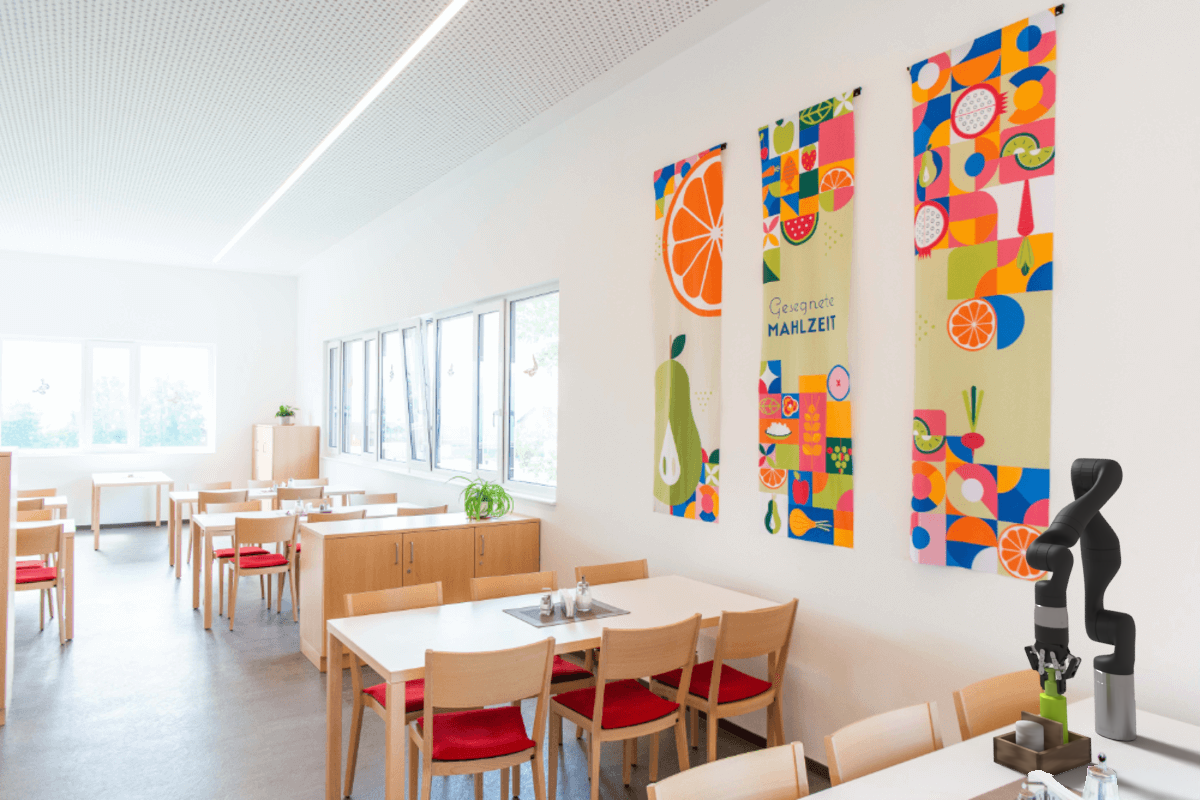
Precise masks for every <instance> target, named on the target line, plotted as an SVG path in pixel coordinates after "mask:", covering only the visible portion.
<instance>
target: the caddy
mask: <svg viewBox="0 0 1200 800" xmlns="http://www.w3.org/2000/svg"><path fill="white" fill-rule="evenodd" d="M1020 716H1021V717H1020V719H1021V720H1016V722H1015V730H1013V731H1010V732H1006V733H1002V734H999V735H996V736H993V737H992V743H993V744H992V751H993V752H992V753H993V754H992V755H993V762H994V763H995V764H998V765H1000V766H1003V767H1006V768H1007V769H1010V770H1013V771H1016V772H1019V773H1021V774H1023V775H1025V774H1026V775H1025V776H1028V775H1027V774H1028V773H1029V772H1031V771H1035V770H1042V771H1044V772H1046V773H1050V774H1052V775H1054V776H1053V777H1056V776H1058V774H1059V775H1061V774H1064V773H1067V772H1069V770H1070V771H1072V770H1074V768H1075V769H1077V767H1078V768H1080V766H1081V767H1083V766H1086V765H1088V763H1089V764H1091V763H1090V762H1093V761H1092V760H1093V757H1092V755H1093V754H1092V738H1091V737H1090V736H1087V735H1083V734H1080V733H1077V732H1075V731H1071V730H1069V729H1068V743H1066V744H1063V723H1060V722H1057V721H1054V720H1051V719H1048V718H1045V717H1042V716H1040V715H1038V714H1036V713H1035V714H1034V713H1032V712H1029V711H1026V710H1021V711H1020ZM1071 769H1072V770H1071ZM1066 771H1067V772H1066ZM1063 772H1064V773H1063ZM1060 773H1061V774H1060ZM1055 775H1056V776H1055Z"/></svg>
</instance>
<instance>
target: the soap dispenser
mask: <svg viewBox="0 0 1200 800" xmlns="http://www.w3.org/2000/svg"><path fill="white" fill-rule="evenodd" d="M1044 670H1045V671H1047V672H1048V679H1047V680H1045V690H1044V692H1040V693H1039V712H1040V713H1039V716H1042V717H1045V718H1048V719H1051V720H1054V721H1057V722H1060V723H1063V744H1066V743H1068V730H1069V729H1068V728H1069V727H1068V726H1069V724H1068V723H1069V722H1068V707H1067V706H1068V703H1067V702H1068V701H1067V699H1068V698H1067V697H1066V696H1065V695H1064V694H1062V695H1059V694H1058V693H1057V684H1056V679H1057V676H1056V671H1055V670H1054V667H1053V666H1051V667H1049V668H1044ZM1061 672H1063V670H1061Z"/></svg>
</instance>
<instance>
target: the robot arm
mask: <svg viewBox="0 0 1200 800" xmlns="http://www.w3.org/2000/svg"><path fill="white" fill-rule="evenodd" d="M1123 476H1124V473H1123V468H1122V466H1121V464H1120V463H1119V462H1118V460H1117V461H1116V460H1115V459H1110V458H1093V457H1092V458H1090V457H1080V458H1076V459H1074V460H1073V462H1072V464H1071V468H1070V482H1071V487H1072V492H1073V493H1072V494H1073V498H1074V500H1073V501H1072V502H1070V503H1068V504H1067V505H1066V506H1064V507H1062V508H1061V510H1059V511H1058V512H1057V514H1056V515H1055V517H1054V519H1053V520H1052V522H1051V523H1050V525H1049V527H1048V529H1046V530H1044V531H1043V532H1042V533H1041V534H1040V535H1038V536H1037V537H1036V538H1035V539H1034V540H1032V542H1030V544H1029V545H1028V547H1027V548H1026V550H1025V561H1026V563H1027V565H1028V566H1029V567H1030V568H1032V569H1033V570H1037V571H1042V572H1050V573H1052V575H1051V578H1050V579H1041V580H1038V581H1036V582H1035V584H1034V611H1033V619H1034V620H1033V621H1034V622H1033V623H1034V627H1033V628H1034V639H1035V642H1034V644H1033V645H1032V644H1031V645H1026V646H1024V649H1023V650H1024V652H1025V654H1026V655H1025V656H1027V657H1026V658H1027V660H1028V662H1029V665H1030V668H1031V669H1032V671H1036V672H1037V673H1038V674H1039V685H1040V687H1041V689H1042V690H1043V691H1045V680H1047V679H1048V672H1047V671H1045V670H1044V668H1049V667H1050V666H1051V665H1052V667H1054V670H1055V671H1056V684H1057V693H1058V694H1059V695H1065V693H1066V692H1067V680H1070V679H1074V678H1075V677H1076V675H1077V672H1078V671H1079V667H1080V665H1081V664H1082V663H1081V662H1082V658H1081V657H1079V656H1075V655H1074V654H1072V653H1071V651H1070V648H1069V643H1070V636H1069V635H1070V633H1069V632H1070V630H1069V613H1068V607H1067V605H1068V604H1067V603H1068V602H1067V600H1068V599H1067V590H1068V587H1069V586H1068V585H1069V582H1070V577H1071V573H1072V571H1073V568H1074V563H1075V562H1074V561H1075V559H1074V558H1075V557H1074V555H1073V553H1072V550H1071V549H1070V548H1073V547H1075V546H1076V544H1077V543H1078V542H1079V547H1080V557H1081V564H1082V572H1083V573H1082V574H1083V584H1084V628H1085V629H1084V630H1085V631H1086V632H1085V633H1086V635H1087V637H1088V638H1089V639H1090V640H1091V641H1092V642H1096V643H1100V644H1104V645H1110V646H1114V649H1113V652H1112V653H1110V654H1101V655H1100V654H1099V655H1097V656H1094V658H1093V661H1092V662H1093V663H1092V664H1093V666H1092V667H1093V695H1094V697H1093V699H1094V731H1095V732H1096V734H1097V735H1099V736H1102V737H1104V738H1107V739H1112V740H1117V741H1128V742H1129V741H1134V740H1136V738H1137V711H1136V710H1137V709H1136V707H1137V705H1136V698H1135V697H1136V695H1135V693H1136V692H1135V691H1136V690H1135V669H1134V668H1135V664H1136V663H1135V662H1136V635H1137V629H1136V628H1137V627H1136V623H1135V619H1134V618H1133V616H1132V615H1131V614H1130V613H1126V612H1123V611H1118V610H1117V611H1116V610H1111V609H1105V606H1104V598H1105V593H1106V591H1107V588H1108V587H1109V586H1110V583H1111V582H1112V581H1113V579H1114V578H1115V577H1116V576H1117V574H1118V572H1119V571H1120V569H1121V565H1122V552H1121V544H1120V538H1119V537H1118V535H1117V533H1116V532H1115V530H1114V529H1113V527H1112V526H1111V525H1110V523H1108V521H1107V520H1106V518H1105V517H1104V516H1103V514H1102V513H1101V511H1100V510H1101V509H1102V508H1103V506H1105V505H1106V504H1107V503H1108V501H1110V499H1111V498H1112V497H1113V496H1114V495H1115V494H1116V493H1117V491H1118V490H1119V489H1120V488H1121V485H1122V482H1123ZM1067 659H1068V660H1067ZM1066 660H1067V662H1066ZM1066 663H1068V665H1067V664H1066ZM1061 670H1063V672H1061Z"/></svg>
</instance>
